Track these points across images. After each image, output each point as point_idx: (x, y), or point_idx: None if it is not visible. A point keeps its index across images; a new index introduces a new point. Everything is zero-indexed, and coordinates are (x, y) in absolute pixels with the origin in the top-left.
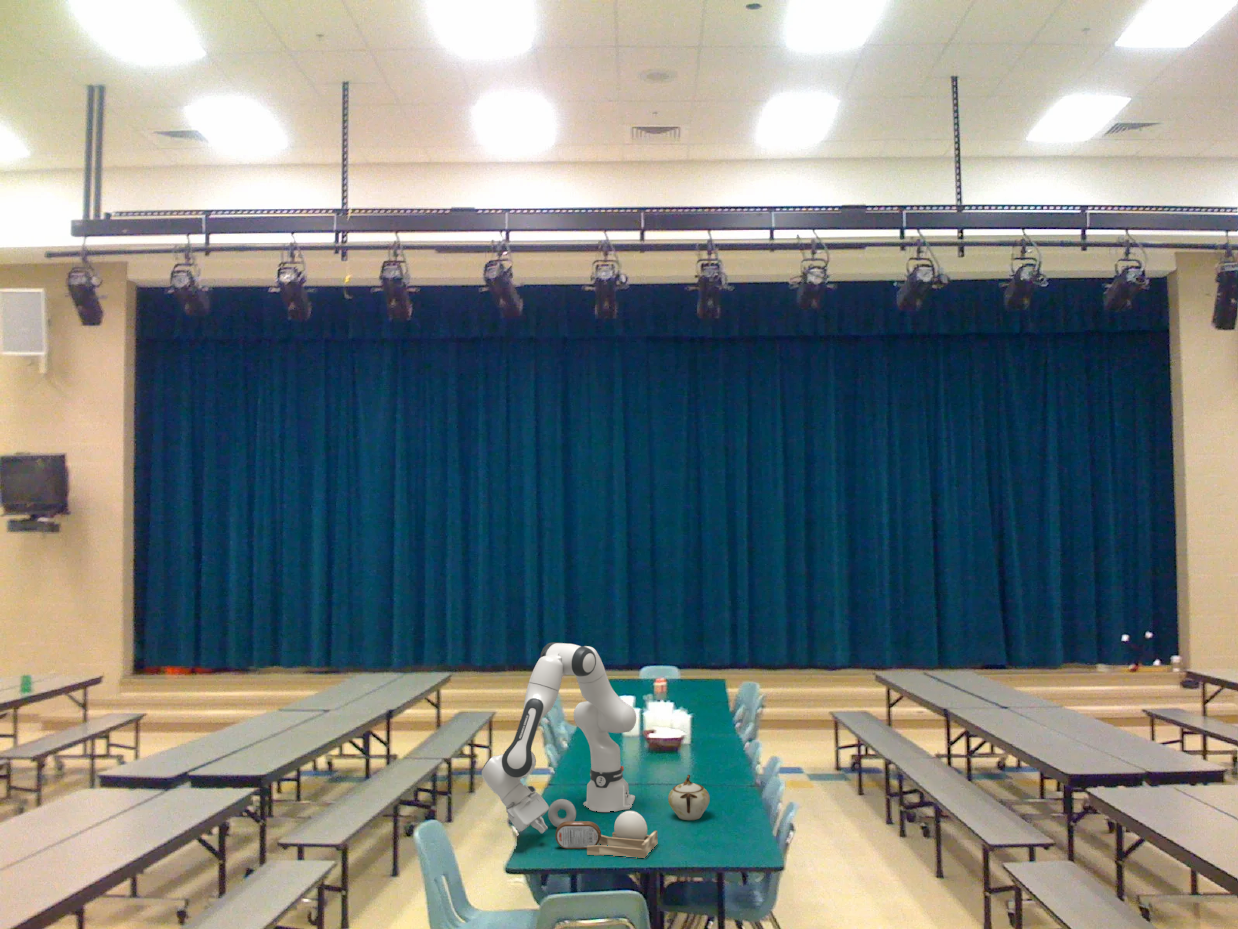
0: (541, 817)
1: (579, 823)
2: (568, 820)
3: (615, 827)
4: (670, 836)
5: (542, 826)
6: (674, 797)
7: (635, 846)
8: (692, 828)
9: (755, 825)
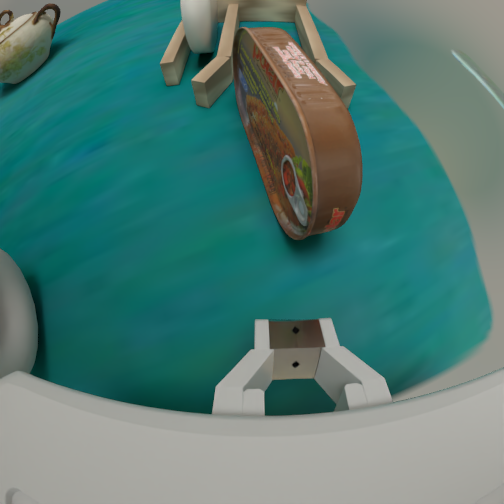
0: (224, 403)
1: (287, 54)
2: (15, 282)
3: (203, 21)
4: (134, 29)
5: (323, 341)
6: (23, 35)
7: (237, 29)
8: (91, 32)
9: (98, 5)
